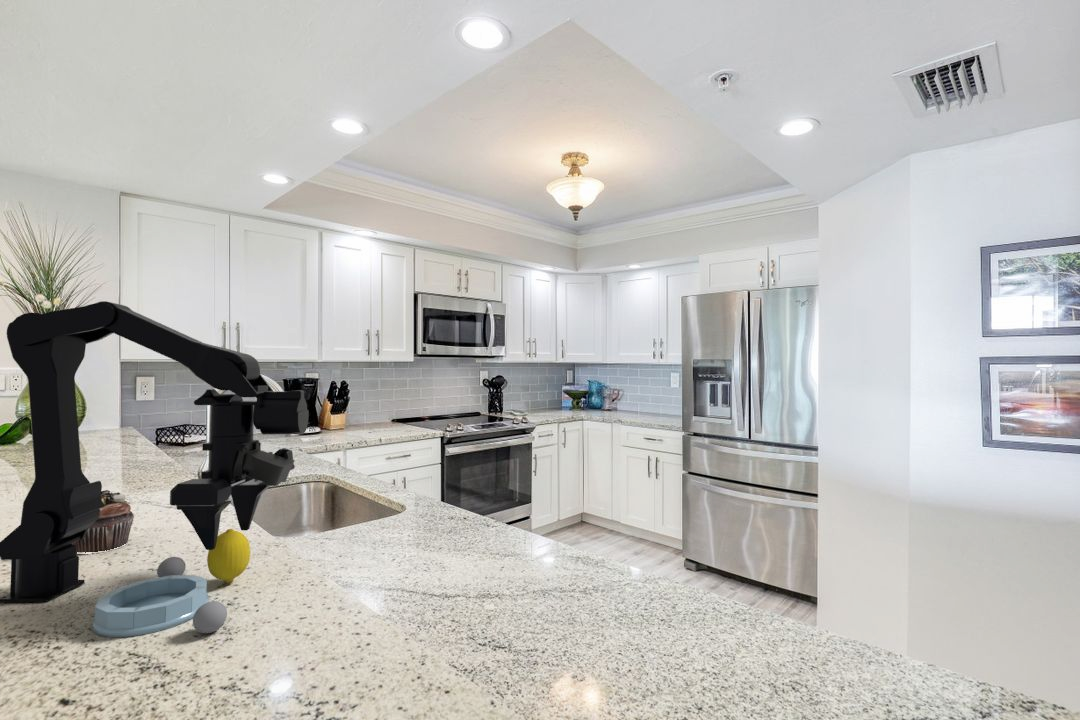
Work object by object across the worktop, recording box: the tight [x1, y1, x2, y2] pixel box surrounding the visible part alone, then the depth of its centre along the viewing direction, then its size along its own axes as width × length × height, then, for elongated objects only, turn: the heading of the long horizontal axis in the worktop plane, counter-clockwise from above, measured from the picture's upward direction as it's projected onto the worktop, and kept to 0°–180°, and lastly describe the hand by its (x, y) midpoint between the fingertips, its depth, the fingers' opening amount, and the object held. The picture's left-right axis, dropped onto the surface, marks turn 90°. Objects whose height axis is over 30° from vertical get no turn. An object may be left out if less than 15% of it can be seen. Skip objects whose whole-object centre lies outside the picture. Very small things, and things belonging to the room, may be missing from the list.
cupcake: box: [71, 489, 135, 553], centre depth 92 cm, size 10×10×10 cm
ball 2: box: [192, 600, 228, 634], centre depth 62 cm, size 4×4×4 cm
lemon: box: [206, 528, 251, 584], centre depth 77 cm, size 6×6×8 cm
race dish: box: [92, 574, 210, 638], centre depth 67 cm, size 12×12×3 cm
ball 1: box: [156, 556, 187, 578], centre depth 77 cm, size 4×4×4 cm
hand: (228, 539), depth 77 cm, fingers open, 9 cm apart
